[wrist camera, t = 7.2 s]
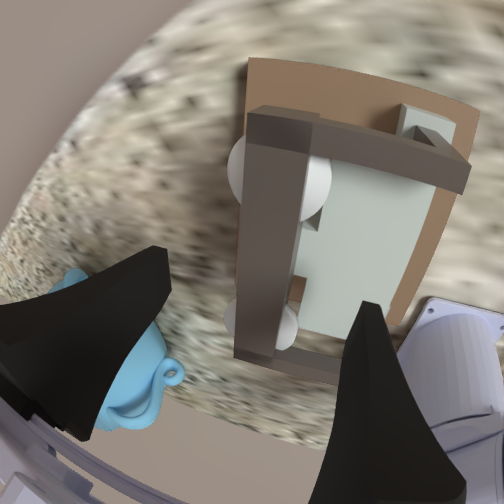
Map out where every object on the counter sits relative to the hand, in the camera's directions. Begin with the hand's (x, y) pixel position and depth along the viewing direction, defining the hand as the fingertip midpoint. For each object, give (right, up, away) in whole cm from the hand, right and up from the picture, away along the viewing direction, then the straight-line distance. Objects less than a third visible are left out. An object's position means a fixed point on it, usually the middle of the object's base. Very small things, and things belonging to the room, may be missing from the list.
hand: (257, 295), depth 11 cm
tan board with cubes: (+5, +4, +7) cm, 10 cm away
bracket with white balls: (+4, +3, +5) cm, 7 cm away
